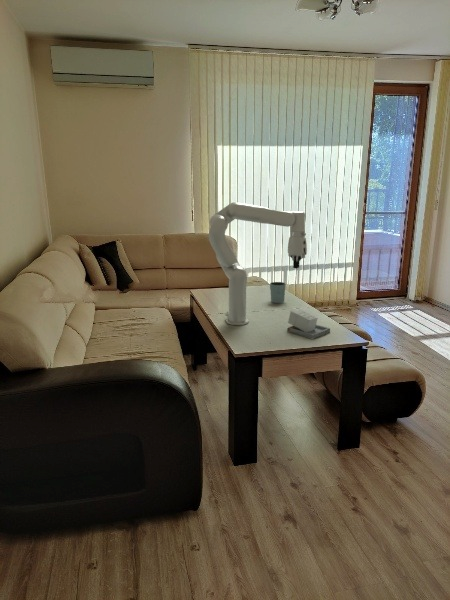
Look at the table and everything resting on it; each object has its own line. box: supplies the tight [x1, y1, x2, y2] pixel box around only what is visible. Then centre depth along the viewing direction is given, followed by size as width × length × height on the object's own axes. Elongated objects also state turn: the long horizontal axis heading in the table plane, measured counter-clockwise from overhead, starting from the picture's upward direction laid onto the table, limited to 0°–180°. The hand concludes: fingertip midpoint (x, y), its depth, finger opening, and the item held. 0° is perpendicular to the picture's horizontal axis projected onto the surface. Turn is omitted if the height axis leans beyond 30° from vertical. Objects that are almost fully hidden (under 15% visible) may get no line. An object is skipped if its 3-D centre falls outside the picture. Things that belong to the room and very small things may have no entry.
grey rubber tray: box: [289, 324, 331, 340], centre depth 224 cm, size 14×15×2 cm
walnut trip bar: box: [286, 325, 298, 333], centre depth 229 cm, size 2×15×2 cm, turn 134°
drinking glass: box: [269, 281, 287, 304], centre depth 281 cm, size 10×10×12 cm
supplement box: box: [287, 308, 319, 333], centre depth 226 cm, size 7×7×13 cm
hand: (296, 267), depth 240 cm, fingers closed
